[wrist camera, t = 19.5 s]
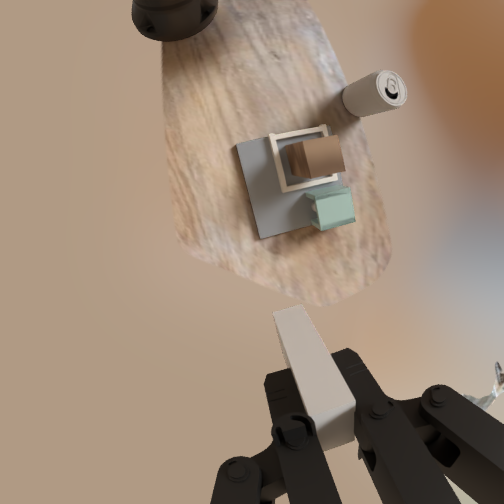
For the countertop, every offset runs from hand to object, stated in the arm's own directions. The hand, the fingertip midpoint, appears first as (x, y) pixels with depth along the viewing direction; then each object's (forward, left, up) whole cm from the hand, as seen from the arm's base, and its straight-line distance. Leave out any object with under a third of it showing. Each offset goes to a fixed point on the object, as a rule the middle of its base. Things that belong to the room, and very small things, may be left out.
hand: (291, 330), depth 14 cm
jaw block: (-7, +12, -33) cm, 36 cm away
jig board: (-3, +10, -34) cm, 36 cm away
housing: (+2, +14, -33) cm, 36 cm away
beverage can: (-15, +25, -35) cm, 45 cm away
